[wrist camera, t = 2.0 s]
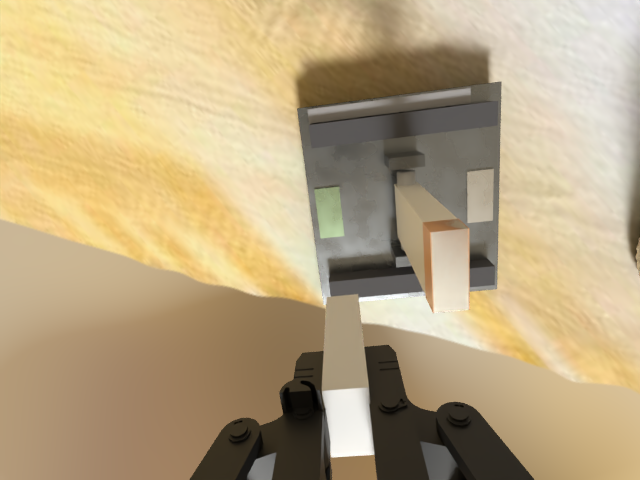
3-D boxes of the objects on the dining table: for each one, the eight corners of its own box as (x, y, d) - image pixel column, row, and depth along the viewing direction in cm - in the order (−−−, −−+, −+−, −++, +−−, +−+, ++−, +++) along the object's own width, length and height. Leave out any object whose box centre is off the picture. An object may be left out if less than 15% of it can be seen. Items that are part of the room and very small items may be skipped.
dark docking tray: (308, 109, 35) (306, 109, 33) (489, 85, 34) (498, 84, 32) (331, 291, 41) (331, 300, 39) (487, 276, 40) (494, 285, 38)
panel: (300, 108, 38) (293, 108, 32) (488, 83, 37) (519, 78, 30) (324, 292, 44) (322, 321, 38) (486, 277, 43) (511, 305, 37)
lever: (392, 171, 35) (429, 213, 21) (416, 168, 35) (469, 208, 21) (397, 246, 37) (433, 329, 23) (419, 244, 37) (469, 326, 23)
